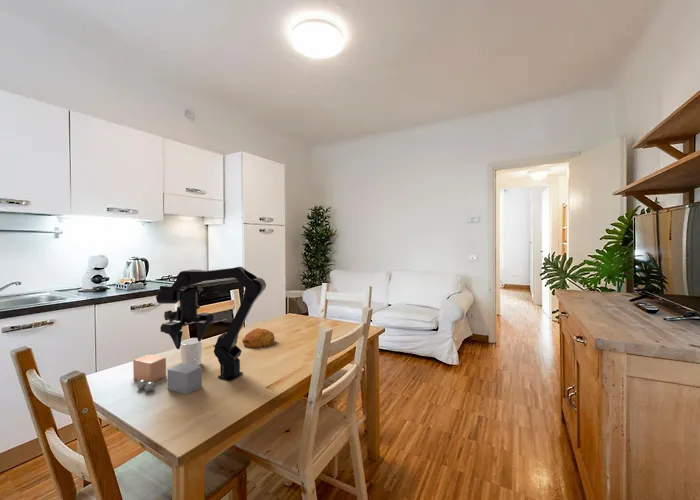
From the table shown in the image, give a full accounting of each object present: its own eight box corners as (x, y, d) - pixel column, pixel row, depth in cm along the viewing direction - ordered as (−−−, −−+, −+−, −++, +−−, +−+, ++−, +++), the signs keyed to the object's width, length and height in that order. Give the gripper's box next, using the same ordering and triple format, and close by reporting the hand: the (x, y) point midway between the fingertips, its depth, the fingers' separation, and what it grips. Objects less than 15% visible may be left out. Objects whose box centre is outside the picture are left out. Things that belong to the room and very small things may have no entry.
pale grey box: (201, 386, 106) (201, 366, 106) (187, 394, 101) (186, 373, 100) (183, 381, 109) (182, 362, 109) (167, 389, 104) (167, 369, 104)
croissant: (260, 341, 161) (259, 325, 161) (280, 343, 151) (279, 326, 152) (236, 348, 149) (235, 331, 149) (255, 350, 140) (254, 333, 140)
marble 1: (149, 387, 105) (149, 379, 105) (140, 391, 102) (140, 383, 102) (143, 386, 106) (143, 377, 106) (134, 390, 103) (134, 381, 103)
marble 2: (157, 389, 103) (157, 381, 103) (148, 393, 101) (148, 385, 101) (151, 388, 105) (151, 379, 104) (142, 392, 102) (142, 383, 102)
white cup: (193, 370, 119) (193, 345, 119) (176, 368, 121) (175, 343, 121) (206, 362, 127) (206, 338, 127) (190, 360, 129) (190, 337, 128)
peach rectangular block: (166, 375, 114) (165, 357, 114) (150, 382, 108) (150, 363, 108) (149, 372, 117) (149, 354, 117) (133, 378, 112) (133, 359, 111)
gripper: (193, 297, 124) (194, 335, 125) (149, 306, 107) (149, 350, 107) (214, 299, 120) (214, 338, 121) (171, 309, 103) (172, 354, 103)
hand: (189, 344), depth 113 cm, fingers open, 9 cm apart
